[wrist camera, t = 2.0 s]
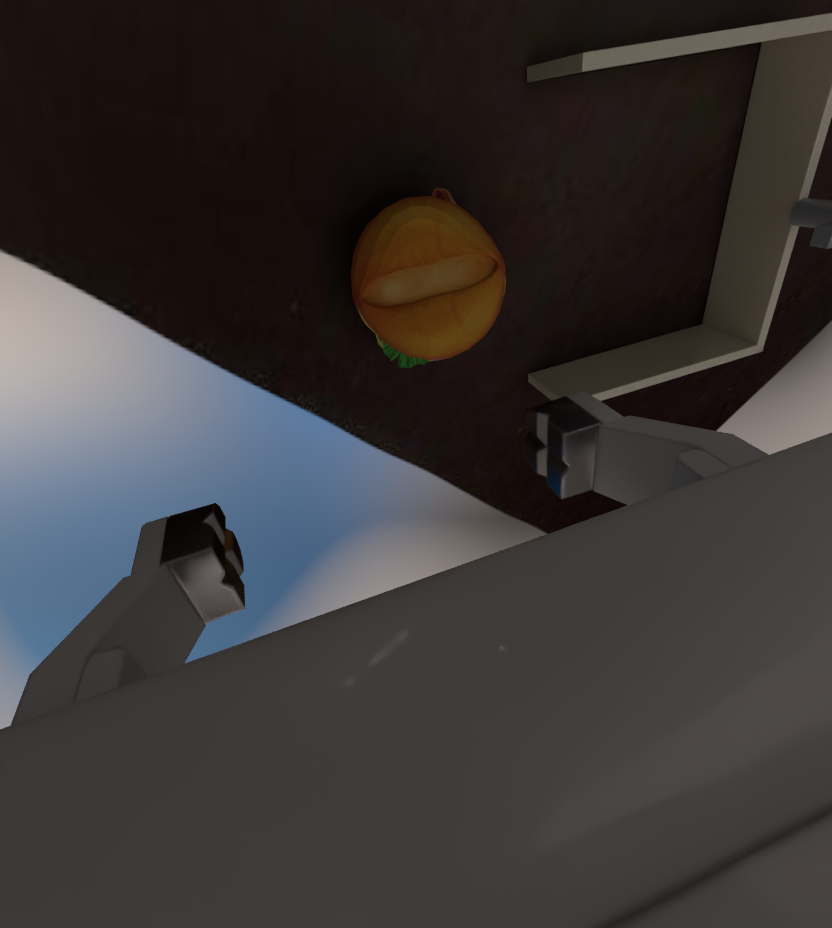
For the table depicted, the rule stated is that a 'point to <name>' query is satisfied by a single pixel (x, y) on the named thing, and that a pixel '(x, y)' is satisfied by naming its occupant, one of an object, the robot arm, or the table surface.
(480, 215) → the table surface
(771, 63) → the grey u-shaped wall
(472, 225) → the cheeseburger
